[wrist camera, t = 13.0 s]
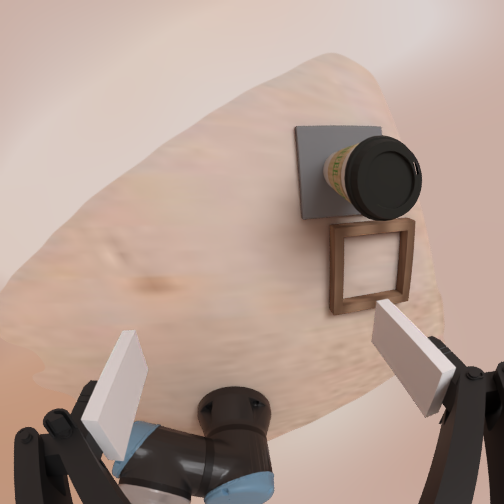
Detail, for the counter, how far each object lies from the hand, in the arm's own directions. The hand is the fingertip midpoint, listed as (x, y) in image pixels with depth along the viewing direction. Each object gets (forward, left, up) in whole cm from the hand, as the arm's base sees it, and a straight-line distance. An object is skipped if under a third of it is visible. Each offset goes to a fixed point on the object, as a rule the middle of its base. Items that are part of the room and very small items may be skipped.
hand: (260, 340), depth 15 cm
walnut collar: (+22, -10, -32) cm, 40 cm away
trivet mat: (+17, +6, -32) cm, 36 cm away
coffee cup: (+17, +6, -31) cm, 35 cm away
